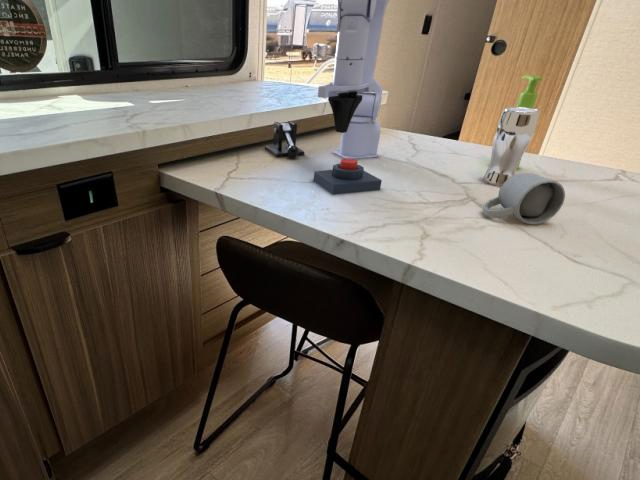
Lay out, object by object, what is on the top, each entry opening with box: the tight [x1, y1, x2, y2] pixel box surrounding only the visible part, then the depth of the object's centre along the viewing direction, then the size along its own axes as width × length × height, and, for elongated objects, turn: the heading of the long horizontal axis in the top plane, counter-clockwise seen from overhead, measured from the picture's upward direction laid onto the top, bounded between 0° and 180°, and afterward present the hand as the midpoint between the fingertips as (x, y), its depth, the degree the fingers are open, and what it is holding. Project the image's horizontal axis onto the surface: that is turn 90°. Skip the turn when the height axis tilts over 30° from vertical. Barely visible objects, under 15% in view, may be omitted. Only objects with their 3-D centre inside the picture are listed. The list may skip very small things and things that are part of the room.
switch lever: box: [280, 122, 300, 158], centre depth 111 cm, size 11×3×3 cm
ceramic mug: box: [482, 172, 566, 225], centre depth 74 cm, size 11×8×8 cm
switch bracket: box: [264, 120, 305, 159], centre depth 113 cm, size 10×8×8 cm
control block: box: [313, 163, 383, 196], centre depth 90 cm, size 11×10×4 cm
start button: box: [339, 158, 359, 170], centre depth 89 cm, size 4×4×2 cm
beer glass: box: [482, 106, 541, 187], centre depth 89 cm, size 7×7×15 cm
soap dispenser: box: [515, 75, 543, 171], centre depth 98 cm, size 6×7×20 cm
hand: (340, 131), depth 89 cm, fingers closed
